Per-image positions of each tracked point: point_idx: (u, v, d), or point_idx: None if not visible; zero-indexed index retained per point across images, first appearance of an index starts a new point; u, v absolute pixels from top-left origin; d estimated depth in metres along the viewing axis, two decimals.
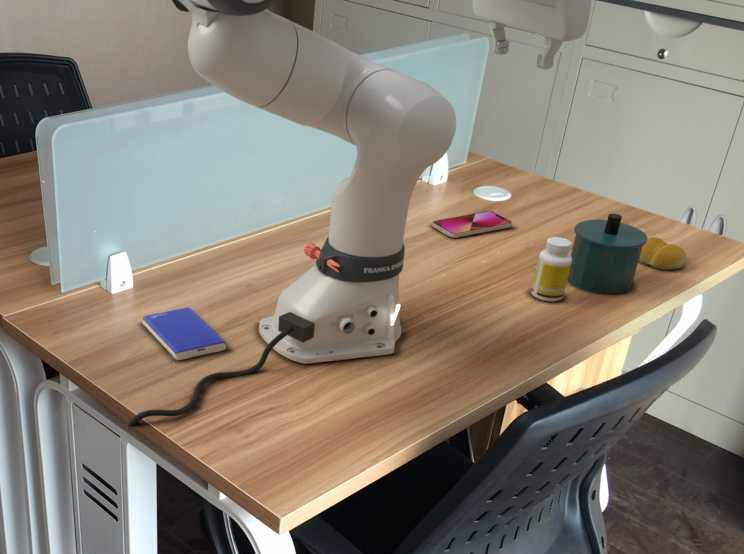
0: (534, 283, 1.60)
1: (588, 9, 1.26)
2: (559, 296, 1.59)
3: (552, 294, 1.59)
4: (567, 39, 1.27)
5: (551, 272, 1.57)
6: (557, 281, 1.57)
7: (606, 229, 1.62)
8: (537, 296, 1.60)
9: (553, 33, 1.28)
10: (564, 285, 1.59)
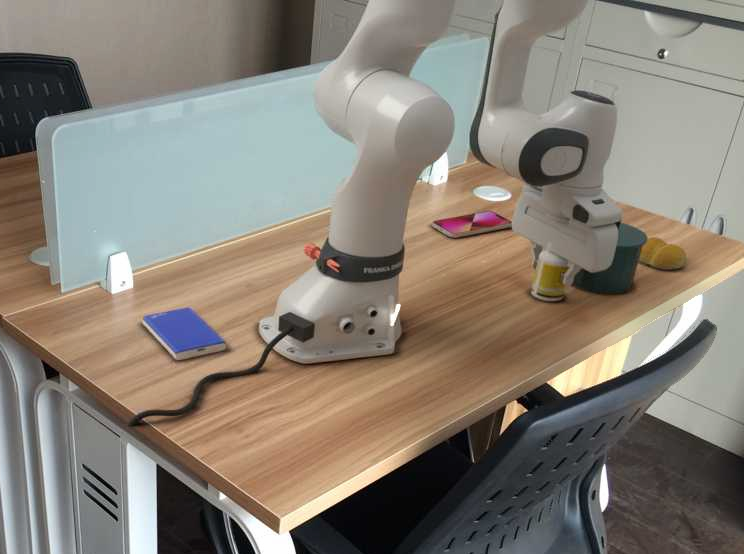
0: (534, 283, 1.60)
1: (614, 249, 1.49)
2: (559, 296, 1.59)
3: (552, 294, 1.59)
4: (594, 271, 1.49)
5: (551, 272, 1.57)
6: (557, 281, 1.57)
7: None
8: (537, 296, 1.60)
9: (583, 264, 1.51)
10: (564, 285, 1.59)
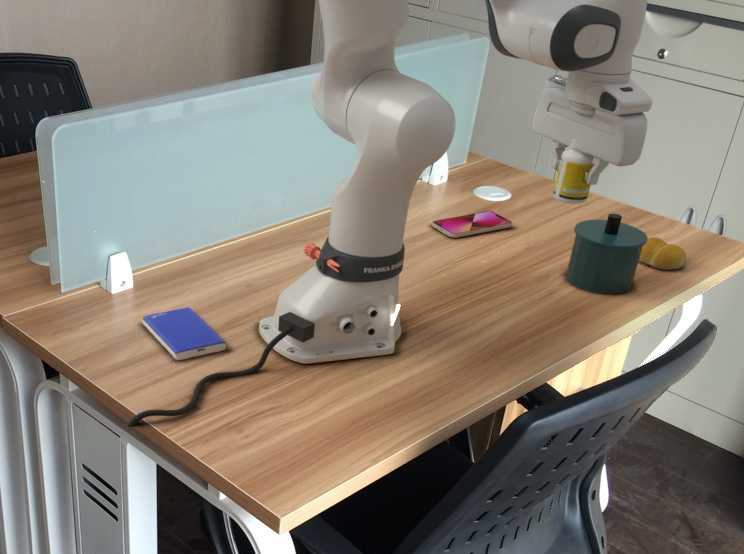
0: (556, 185, 1.52)
1: (643, 140, 1.40)
2: (582, 198, 1.51)
3: (576, 195, 1.51)
4: (622, 164, 1.41)
5: (575, 171, 1.49)
6: (581, 181, 1.49)
7: (606, 229, 1.62)
8: (559, 198, 1.52)
9: (609, 158, 1.42)
10: (588, 186, 1.51)
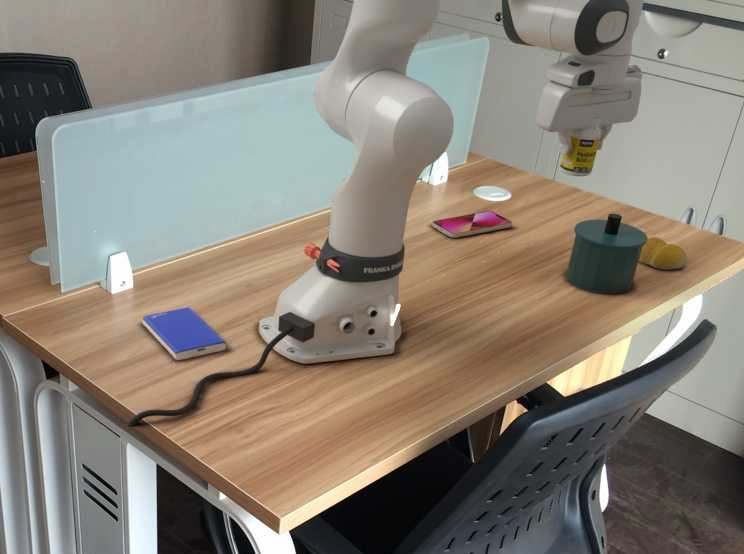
0: None
1: (553, 110, 1.55)
2: (565, 168, 1.65)
3: (561, 163, 1.65)
4: (538, 126, 1.59)
5: None
6: None
7: (606, 229, 1.62)
8: None
9: None
10: (571, 159, 1.63)
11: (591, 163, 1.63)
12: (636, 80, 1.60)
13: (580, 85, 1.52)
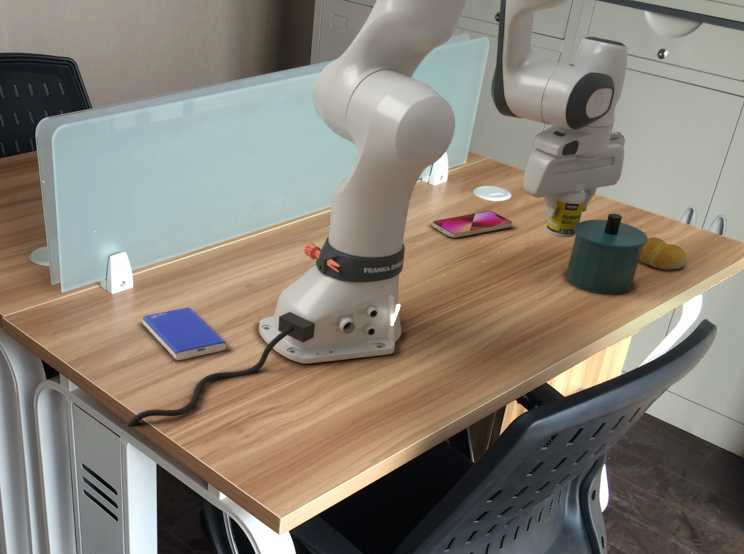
0: None
1: (539, 177, 1.61)
2: (551, 229, 1.71)
3: (548, 224, 1.72)
4: (525, 191, 1.65)
5: None
6: None
7: (606, 229, 1.62)
8: None
9: None
10: (557, 221, 1.70)
11: None
12: (618, 147, 1.66)
13: (565, 154, 1.59)
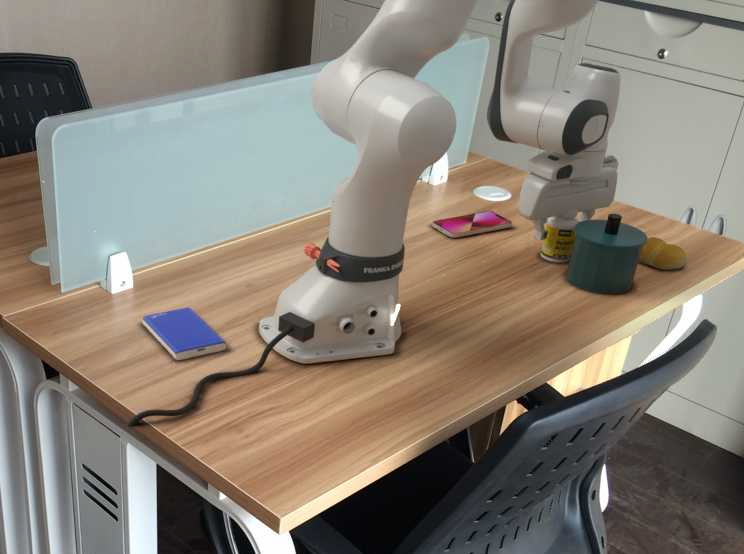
0: None
1: (534, 200, 1.64)
2: (545, 254, 1.74)
3: (542, 249, 1.75)
4: (520, 213, 1.68)
5: (546, 228, 1.74)
6: (545, 239, 1.73)
7: (606, 229, 1.62)
8: None
9: None
10: (550, 247, 1.73)
11: (570, 250, 1.73)
12: (612, 170, 1.69)
13: (559, 178, 1.61)
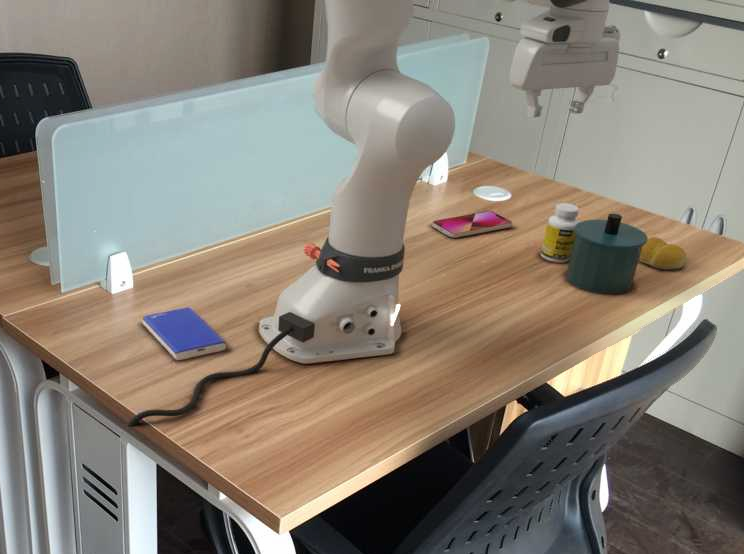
0: None
1: (527, 66, 1.49)
2: (545, 254, 1.74)
3: (542, 249, 1.75)
4: (511, 84, 1.53)
5: None
6: (545, 238, 1.73)
7: (606, 229, 1.62)
8: None
9: None
10: (551, 247, 1.73)
11: (570, 251, 1.73)
12: (613, 40, 1.54)
13: (555, 41, 1.46)
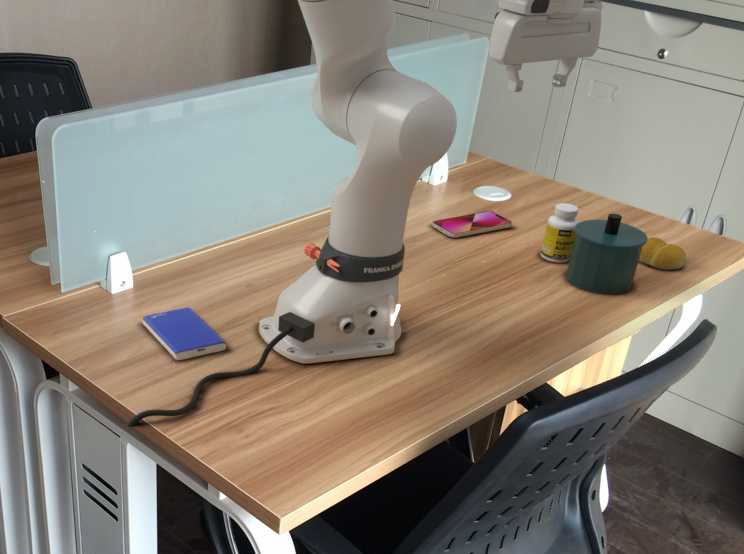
0: None
1: (506, 40, 1.45)
2: (545, 254, 1.74)
3: (542, 249, 1.75)
4: (491, 59, 1.49)
5: (546, 228, 1.74)
6: (545, 239, 1.73)
7: (606, 229, 1.62)
8: None
9: None
10: (550, 247, 1.73)
11: (569, 251, 1.73)
12: (595, 10, 1.50)
13: (534, 12, 1.43)
